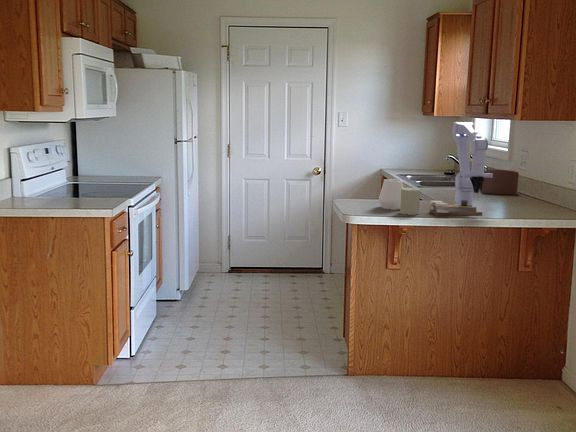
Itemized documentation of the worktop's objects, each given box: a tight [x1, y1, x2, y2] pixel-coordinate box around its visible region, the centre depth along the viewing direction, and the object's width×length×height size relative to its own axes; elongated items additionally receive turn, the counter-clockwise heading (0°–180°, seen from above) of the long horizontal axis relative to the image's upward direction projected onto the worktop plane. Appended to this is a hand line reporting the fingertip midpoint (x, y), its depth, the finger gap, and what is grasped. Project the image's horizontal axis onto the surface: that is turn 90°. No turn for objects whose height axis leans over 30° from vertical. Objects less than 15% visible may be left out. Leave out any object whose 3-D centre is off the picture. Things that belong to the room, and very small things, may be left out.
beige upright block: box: [399, 187, 421, 216], centre depth 305 cm, size 9×9×12 cm
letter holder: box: [479, 169, 520, 196], centre depth 377 cm, size 10×20×14 cm, turn 81°
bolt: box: [449, 200, 468, 207], centre depth 307 cm, size 3×10×4 cm, turn 100°
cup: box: [378, 178, 404, 211], centre depth 318 cm, size 13×13×14 cm
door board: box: [429, 200, 483, 217], centre depth 307 cm, size 10×22×6 cm, turn 100°
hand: (476, 192), depth 307 cm, fingers closed
